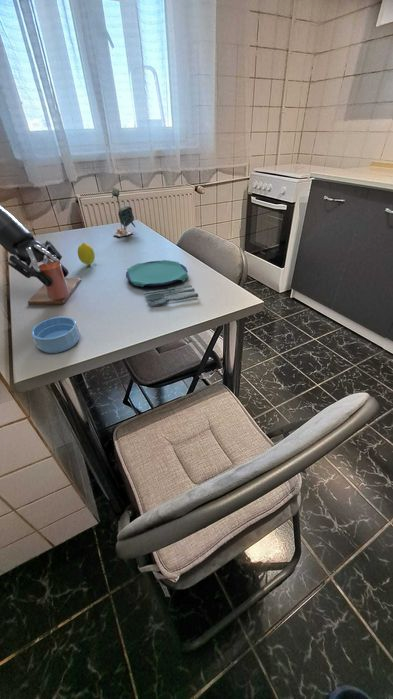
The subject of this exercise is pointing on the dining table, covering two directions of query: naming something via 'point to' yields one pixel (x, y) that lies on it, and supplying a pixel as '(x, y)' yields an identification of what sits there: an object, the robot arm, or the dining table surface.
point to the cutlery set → (159, 279)
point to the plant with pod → (123, 216)
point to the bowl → (56, 334)
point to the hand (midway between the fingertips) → (59, 279)
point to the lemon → (86, 254)
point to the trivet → (43, 298)
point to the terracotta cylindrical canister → (55, 280)
